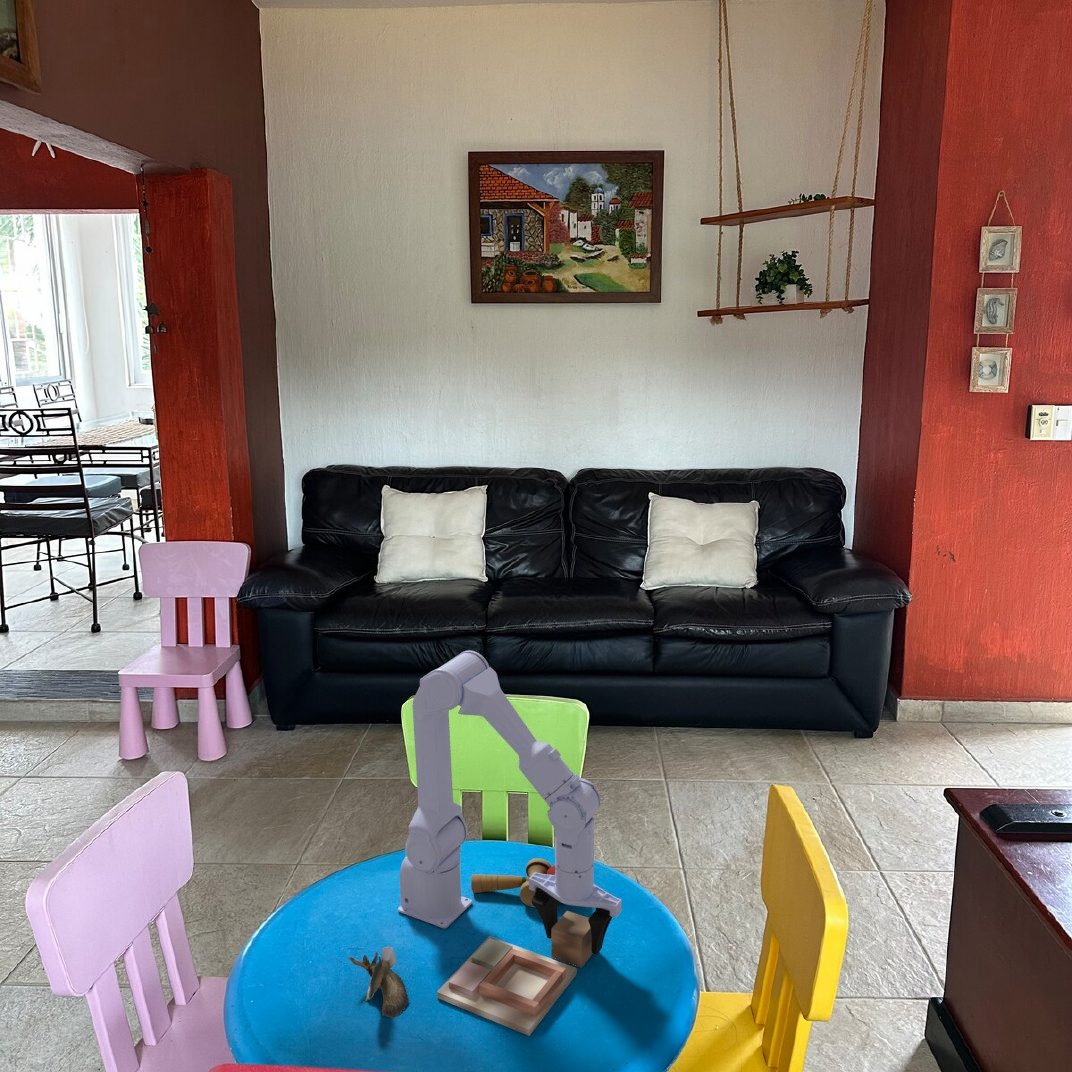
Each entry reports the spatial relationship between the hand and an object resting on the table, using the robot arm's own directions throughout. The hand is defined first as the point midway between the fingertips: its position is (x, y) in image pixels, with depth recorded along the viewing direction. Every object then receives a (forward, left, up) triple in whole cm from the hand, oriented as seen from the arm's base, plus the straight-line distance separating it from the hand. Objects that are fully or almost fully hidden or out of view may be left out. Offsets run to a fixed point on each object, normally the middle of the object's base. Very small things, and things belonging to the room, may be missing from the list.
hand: (574, 942), depth 147 cm
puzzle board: (-5, -11, -2) cm, 12 cm away
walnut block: (0, 0, -2) cm, 2 cm away
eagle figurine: (-20, -22, -2) cm, 29 cm away
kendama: (-14, +9, -2) cm, 17 cm away
